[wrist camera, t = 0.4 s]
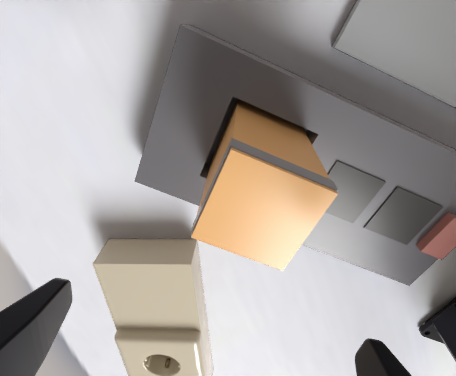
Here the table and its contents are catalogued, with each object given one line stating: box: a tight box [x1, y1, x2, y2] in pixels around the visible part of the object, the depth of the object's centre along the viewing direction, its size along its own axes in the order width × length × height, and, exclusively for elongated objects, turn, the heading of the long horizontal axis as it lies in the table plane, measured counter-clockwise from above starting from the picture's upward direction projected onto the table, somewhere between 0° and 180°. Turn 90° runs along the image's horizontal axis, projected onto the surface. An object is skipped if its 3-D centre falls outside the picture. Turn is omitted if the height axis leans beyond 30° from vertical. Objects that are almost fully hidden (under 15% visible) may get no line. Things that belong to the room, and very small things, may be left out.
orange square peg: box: [190, 99, 338, 271], centre depth 15 cm, size 4×4×8 cm
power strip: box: [135, 25, 456, 286], centre depth 18 cm, size 24×9×3 cm, turn 67°
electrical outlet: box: [93, 239, 213, 376], centre depth 26 cm, size 7×4×18 cm
